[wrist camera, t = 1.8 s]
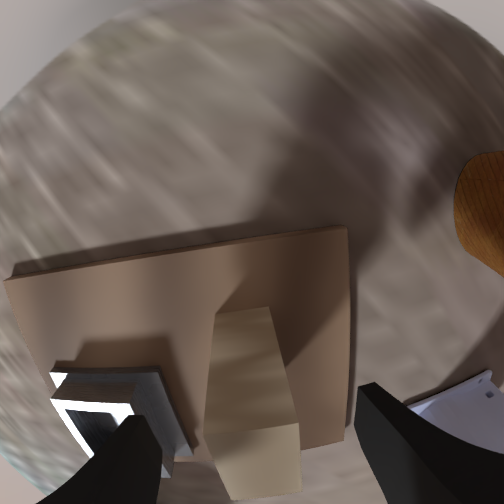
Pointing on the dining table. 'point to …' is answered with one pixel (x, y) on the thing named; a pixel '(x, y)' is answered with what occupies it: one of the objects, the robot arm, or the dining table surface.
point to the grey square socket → (119, 407)
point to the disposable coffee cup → (482, 209)
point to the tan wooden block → (251, 409)
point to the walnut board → (202, 319)
